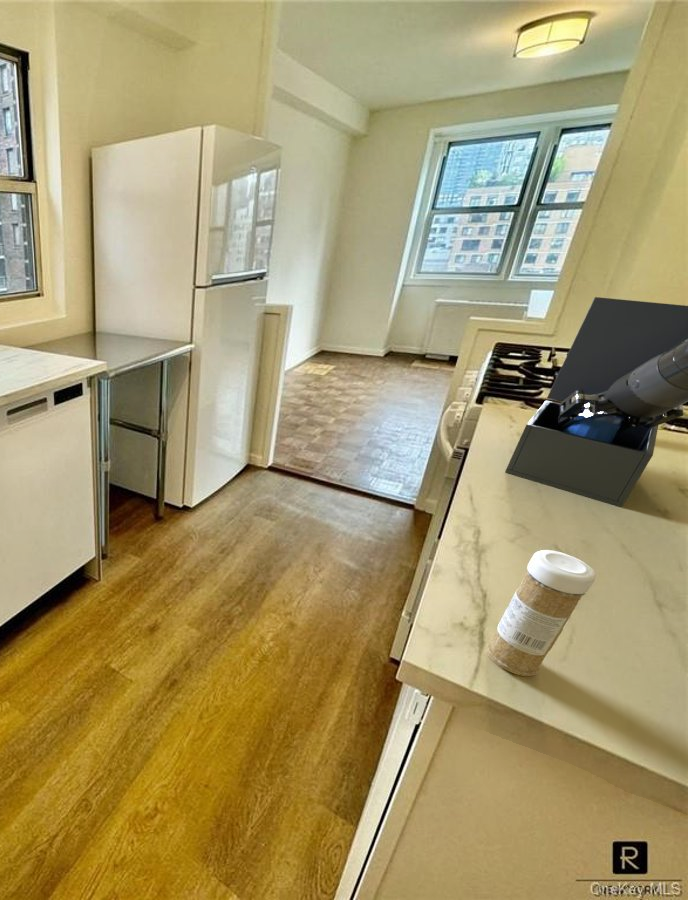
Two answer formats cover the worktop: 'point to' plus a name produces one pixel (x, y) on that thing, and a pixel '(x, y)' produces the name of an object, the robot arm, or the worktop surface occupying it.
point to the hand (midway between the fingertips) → (585, 425)
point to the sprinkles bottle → (539, 611)
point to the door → (618, 343)
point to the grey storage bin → (581, 458)
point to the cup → (596, 427)
